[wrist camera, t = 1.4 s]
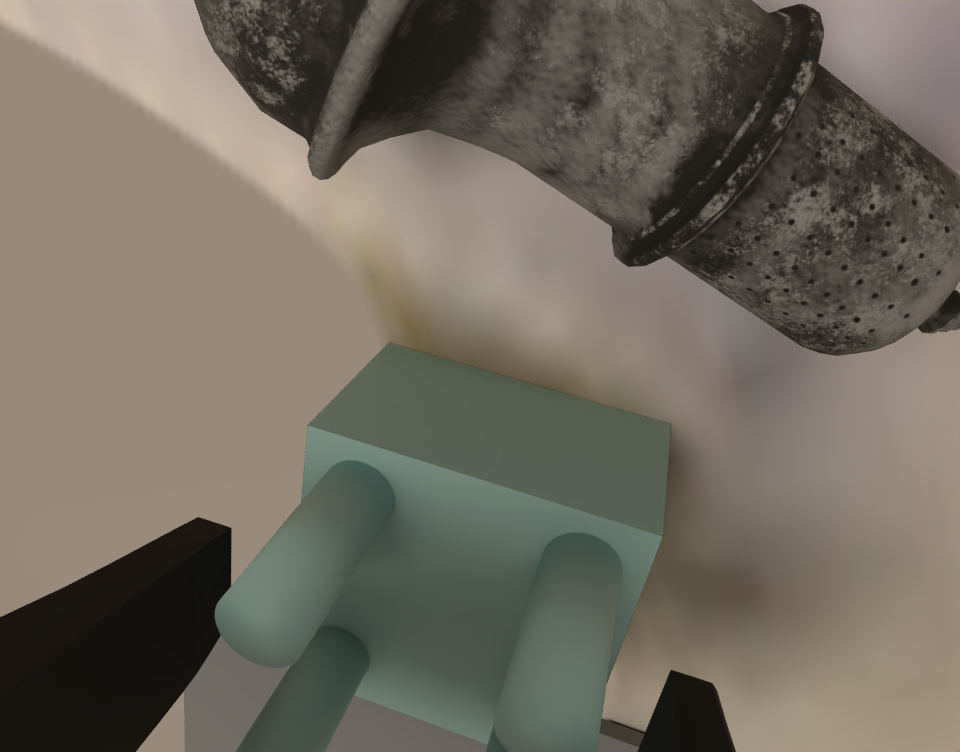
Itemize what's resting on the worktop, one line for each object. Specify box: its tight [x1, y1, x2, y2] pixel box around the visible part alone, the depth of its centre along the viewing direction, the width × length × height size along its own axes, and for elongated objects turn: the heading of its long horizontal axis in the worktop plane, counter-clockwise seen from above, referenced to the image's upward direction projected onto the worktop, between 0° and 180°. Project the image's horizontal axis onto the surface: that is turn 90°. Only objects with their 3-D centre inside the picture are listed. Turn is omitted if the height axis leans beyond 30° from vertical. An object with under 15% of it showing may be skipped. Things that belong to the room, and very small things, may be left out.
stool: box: [215, 343, 671, 752], centre depth 12 cm, size 6×6×6 cm
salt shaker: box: [194, 0, 960, 356], centre depth 9 cm, size 6×6×12 cm
